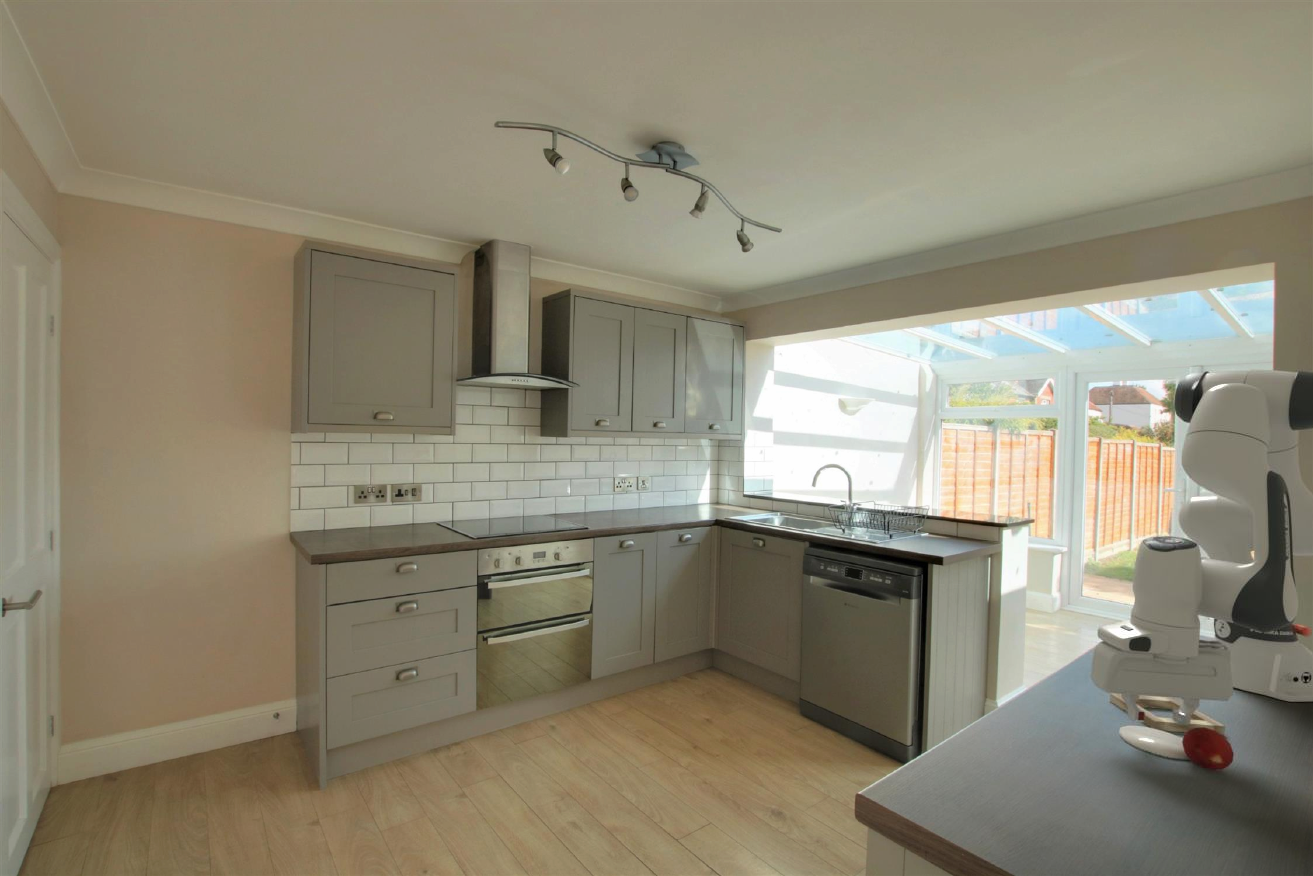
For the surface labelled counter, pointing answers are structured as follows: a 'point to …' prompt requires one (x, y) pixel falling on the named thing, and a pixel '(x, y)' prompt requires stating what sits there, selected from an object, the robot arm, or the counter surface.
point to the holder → (1168, 723)
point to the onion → (1207, 748)
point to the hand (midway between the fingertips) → (1158, 721)
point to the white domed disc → (1154, 741)
